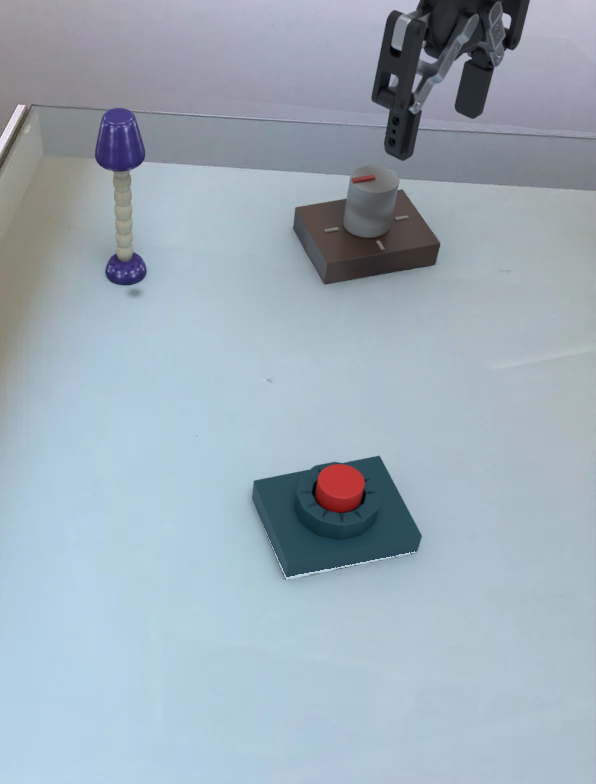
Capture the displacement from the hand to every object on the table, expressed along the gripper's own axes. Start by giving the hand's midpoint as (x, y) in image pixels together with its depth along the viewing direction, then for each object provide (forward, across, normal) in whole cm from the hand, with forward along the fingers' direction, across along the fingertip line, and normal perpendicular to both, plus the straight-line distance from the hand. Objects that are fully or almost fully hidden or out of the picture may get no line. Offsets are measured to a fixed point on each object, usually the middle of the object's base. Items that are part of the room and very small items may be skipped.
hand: (433, 134), depth 74 cm
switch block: (+21, -20, -11) cm, 31 cm away
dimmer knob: (+18, +11, +12) cm, 24 cm away
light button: (+17, -20, -11) cm, 29 cm away
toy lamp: (+21, -10, +26) cm, 35 cm away
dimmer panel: (+21, +11, +12) cm, 26 cm away
